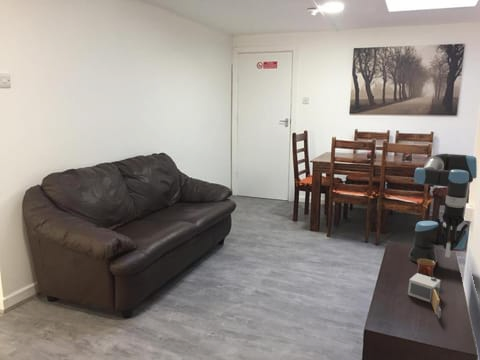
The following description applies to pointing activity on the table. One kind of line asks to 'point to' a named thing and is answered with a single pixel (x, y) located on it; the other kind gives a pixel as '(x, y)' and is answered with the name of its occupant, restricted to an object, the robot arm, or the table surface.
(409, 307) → the table surface
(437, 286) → the housing
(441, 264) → the table surface
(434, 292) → the door
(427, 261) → the mug
